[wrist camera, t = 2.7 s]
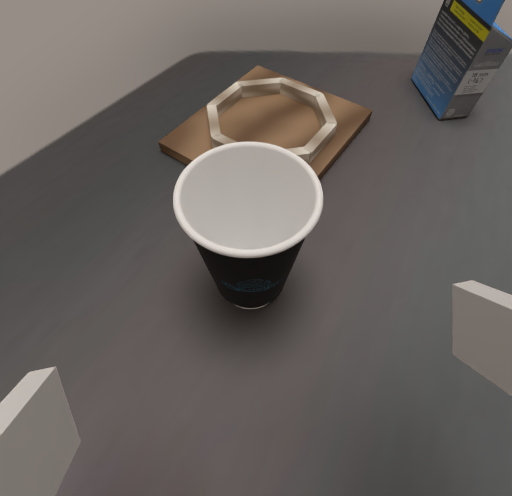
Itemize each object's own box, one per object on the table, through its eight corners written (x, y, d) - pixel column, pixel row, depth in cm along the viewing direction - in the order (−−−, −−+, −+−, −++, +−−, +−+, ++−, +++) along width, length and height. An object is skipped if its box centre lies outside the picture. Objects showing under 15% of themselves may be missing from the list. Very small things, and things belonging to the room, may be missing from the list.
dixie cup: (241, 351, 23) (232, 287, 14) (183, 274, 26) (144, 181, 17) (319, 288, 26) (355, 199, 16) (258, 226, 29) (259, 122, 20)
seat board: (369, 119, 37) (376, 98, 35) (286, 220, 29) (288, 202, 27) (257, 74, 42) (257, 54, 40) (161, 150, 34) (154, 130, 32)
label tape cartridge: (469, 118, 37) (552, -9, 27) (437, 121, 37) (509, -7, 27) (436, 76, 42) (497, -47, 32) (408, 78, 42) (459, -45, 31)
